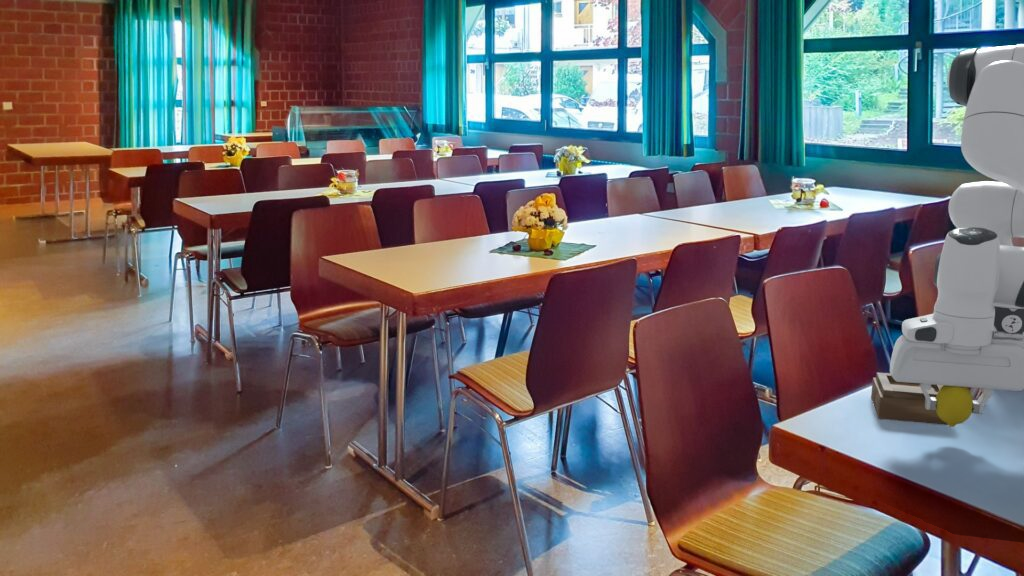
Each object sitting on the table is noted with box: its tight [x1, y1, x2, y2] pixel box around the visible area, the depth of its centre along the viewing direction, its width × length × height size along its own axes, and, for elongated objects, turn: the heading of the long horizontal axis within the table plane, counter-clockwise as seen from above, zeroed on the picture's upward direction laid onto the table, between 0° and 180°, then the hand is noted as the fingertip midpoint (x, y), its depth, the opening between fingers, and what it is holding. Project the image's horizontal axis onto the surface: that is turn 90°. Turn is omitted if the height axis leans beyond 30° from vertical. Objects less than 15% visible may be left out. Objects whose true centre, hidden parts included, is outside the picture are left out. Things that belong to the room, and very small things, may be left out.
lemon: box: [936, 385, 973, 428], centre depth 149 cm, size 6×6×8 cm
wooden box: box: [870, 372, 949, 426], centre depth 164 cm, size 12×12×5 cm
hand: (952, 410), depth 149 cm, fingers closed on lemon, 6 cm apart
